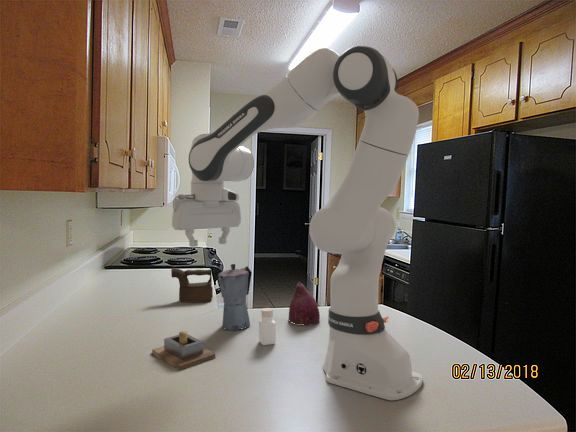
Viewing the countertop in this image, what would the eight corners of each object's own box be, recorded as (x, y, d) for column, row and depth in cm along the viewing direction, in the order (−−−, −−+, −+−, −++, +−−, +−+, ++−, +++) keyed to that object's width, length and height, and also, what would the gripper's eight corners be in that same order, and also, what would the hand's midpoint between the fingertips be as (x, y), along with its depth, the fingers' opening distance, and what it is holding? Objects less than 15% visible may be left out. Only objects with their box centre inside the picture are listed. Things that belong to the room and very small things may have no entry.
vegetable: (303, 337, 120) (298, 295, 116) (283, 324, 128) (277, 284, 123) (327, 322, 126) (323, 282, 122) (306, 311, 134) (301, 273, 130)
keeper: (215, 357, 97) (215, 334, 96) (179, 370, 90) (179, 344, 89) (186, 343, 106) (186, 321, 106) (152, 353, 99) (151, 330, 99)
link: (203, 353, 97) (203, 341, 97) (182, 360, 93) (181, 348, 92) (184, 343, 103) (184, 333, 103) (164, 350, 99) (164, 338, 99)
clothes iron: (173, 298, 155) (172, 266, 154) (212, 296, 158) (212, 264, 157) (171, 304, 147) (170, 269, 146) (213, 301, 150) (212, 268, 150)
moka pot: (208, 330, 117) (208, 265, 116) (238, 317, 130) (237, 259, 130) (234, 335, 112) (233, 268, 112) (261, 321, 126) (261, 261, 125)
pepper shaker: (271, 339, 109) (271, 306, 109) (276, 344, 105) (276, 310, 105) (258, 341, 108) (258, 308, 107) (262, 346, 104) (262, 312, 104)
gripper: (179, 194, 94) (180, 249, 95) (243, 194, 109) (244, 242, 110) (166, 194, 99) (168, 247, 99) (230, 195, 114) (230, 241, 114)
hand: (208, 245), depth 105 cm, fingers open, 8 cm apart
